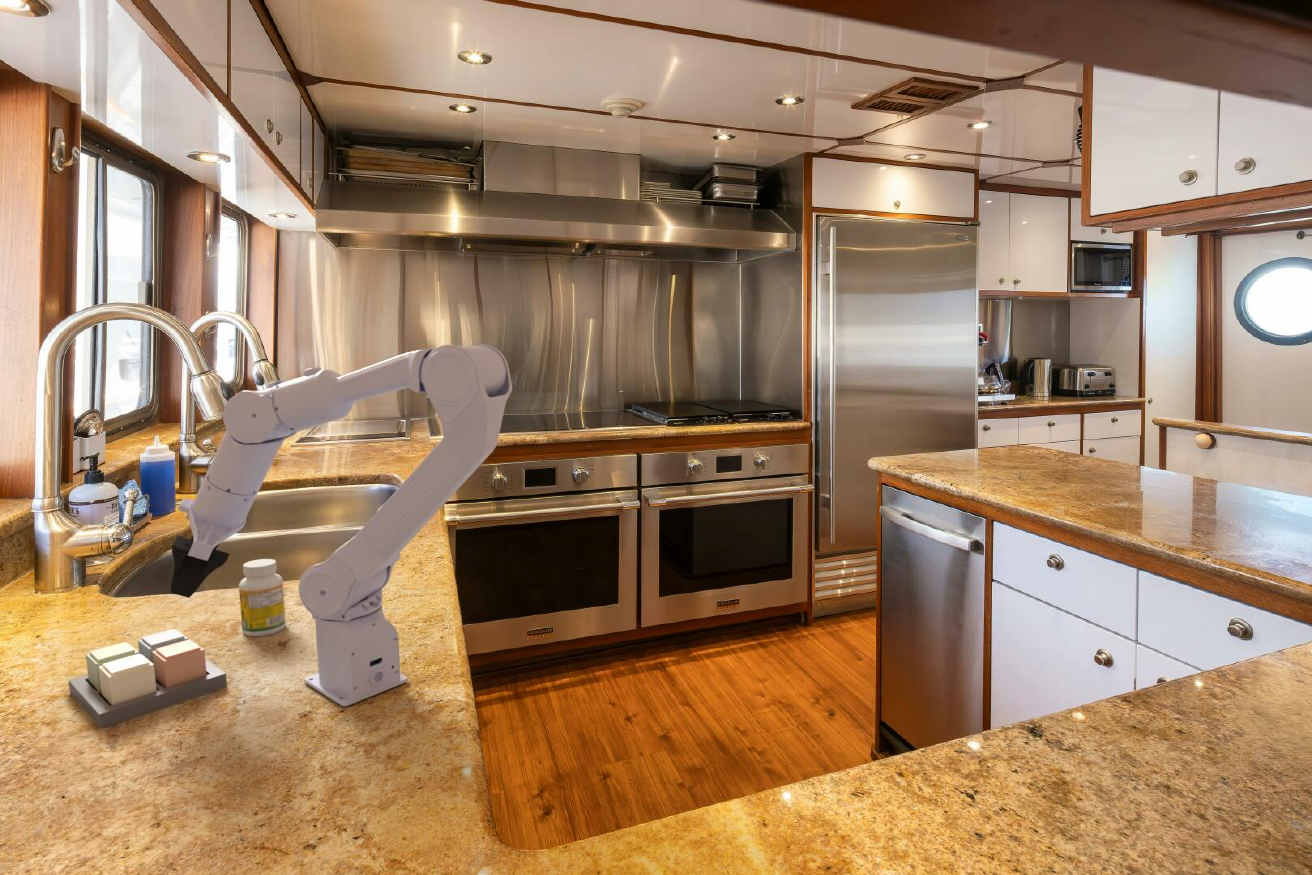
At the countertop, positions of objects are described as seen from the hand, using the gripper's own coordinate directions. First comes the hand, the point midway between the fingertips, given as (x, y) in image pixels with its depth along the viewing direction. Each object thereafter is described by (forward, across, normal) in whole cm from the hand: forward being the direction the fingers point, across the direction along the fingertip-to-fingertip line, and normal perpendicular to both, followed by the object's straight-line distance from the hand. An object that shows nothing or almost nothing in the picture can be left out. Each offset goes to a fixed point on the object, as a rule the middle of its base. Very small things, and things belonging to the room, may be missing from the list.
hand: (189, 575), depth 87 cm
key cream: (+9, +10, 0) cm, 14 cm away
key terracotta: (+8, +8, +4) cm, 12 cm away
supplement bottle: (+10, -7, +11) cm, 17 cm away
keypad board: (+11, +7, +1) cm, 13 cm away
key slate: (+10, +4, +2) cm, 11 cm away
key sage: (+11, +6, -2) cm, 13 cm away
